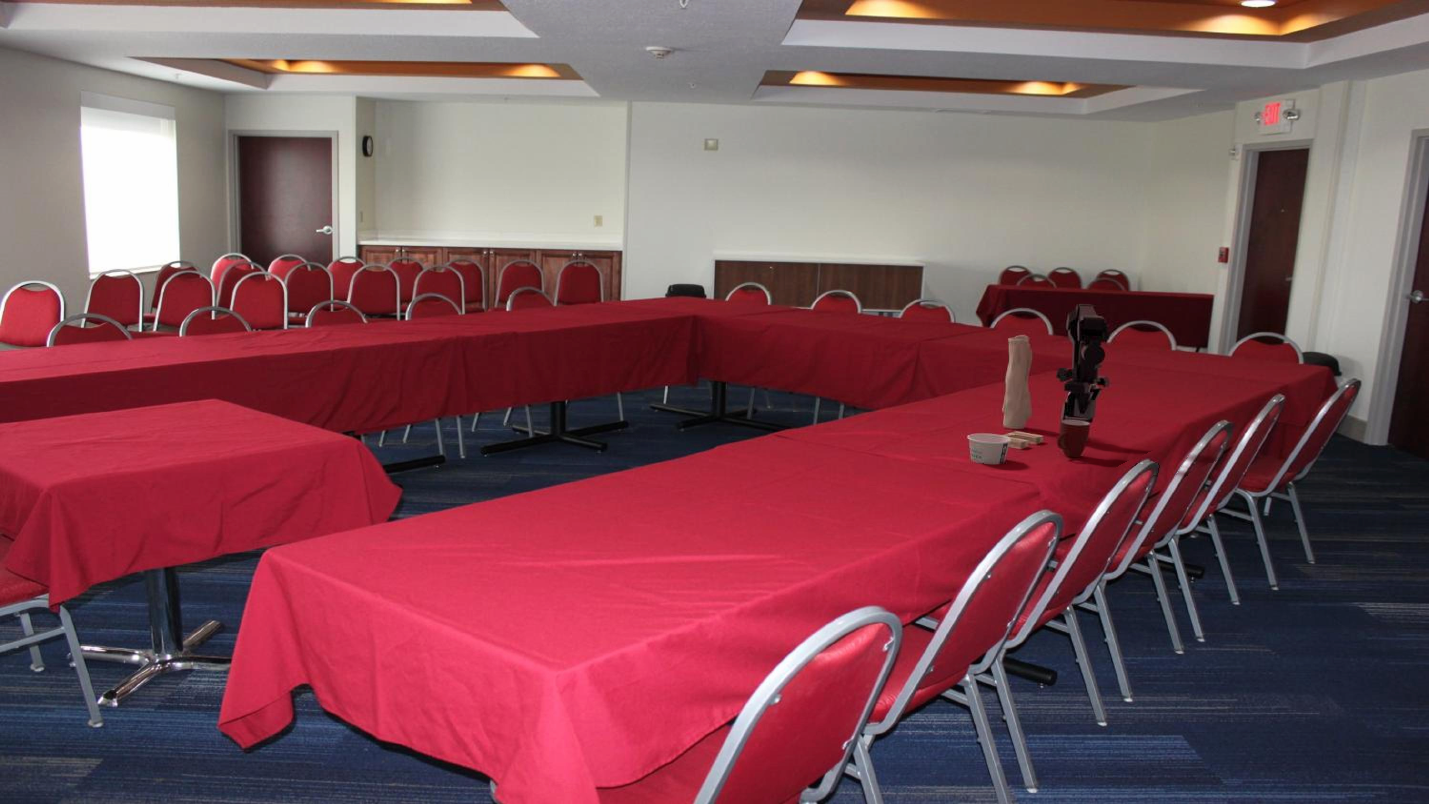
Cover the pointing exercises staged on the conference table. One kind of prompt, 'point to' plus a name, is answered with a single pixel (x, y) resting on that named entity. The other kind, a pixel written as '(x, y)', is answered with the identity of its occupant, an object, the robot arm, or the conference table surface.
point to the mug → (1073, 437)
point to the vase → (1017, 384)
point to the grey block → (1089, 411)
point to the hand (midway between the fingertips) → (1084, 413)
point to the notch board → (1023, 439)
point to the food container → (988, 448)
